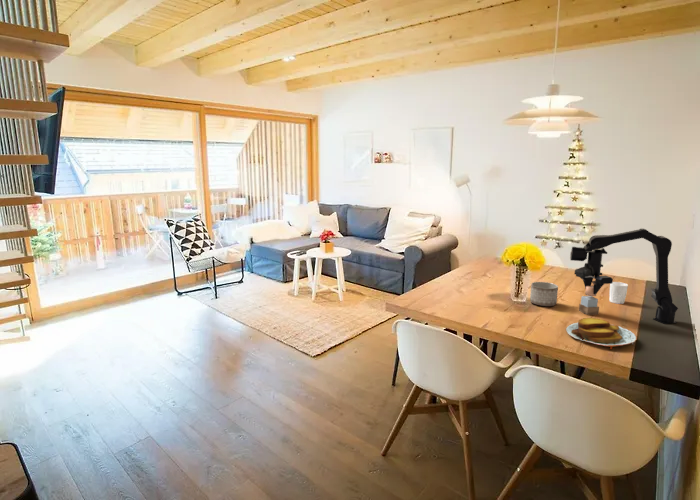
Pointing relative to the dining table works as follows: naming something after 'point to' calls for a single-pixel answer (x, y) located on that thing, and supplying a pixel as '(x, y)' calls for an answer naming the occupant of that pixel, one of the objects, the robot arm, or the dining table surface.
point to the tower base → (588, 310)
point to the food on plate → (601, 332)
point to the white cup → (618, 292)
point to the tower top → (589, 301)
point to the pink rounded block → (589, 291)
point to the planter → (544, 293)
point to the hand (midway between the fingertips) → (591, 292)
